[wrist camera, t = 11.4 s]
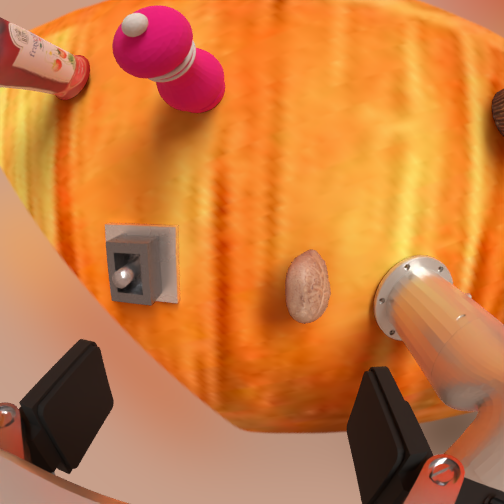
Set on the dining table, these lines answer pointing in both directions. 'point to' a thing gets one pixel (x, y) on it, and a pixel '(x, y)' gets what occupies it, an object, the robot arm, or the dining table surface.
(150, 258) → the grey rectangular frame
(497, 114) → the cupcake
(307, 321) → the mushroom
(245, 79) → the dining table surface
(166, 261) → the keeper
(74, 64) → the liquor
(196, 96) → the pepper mill
